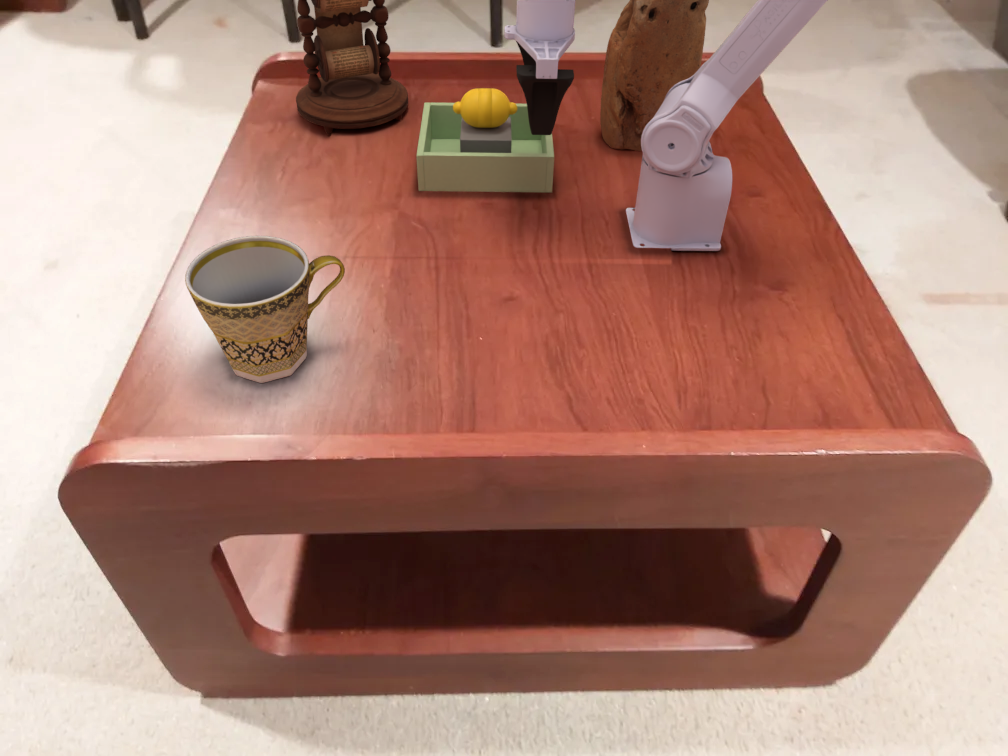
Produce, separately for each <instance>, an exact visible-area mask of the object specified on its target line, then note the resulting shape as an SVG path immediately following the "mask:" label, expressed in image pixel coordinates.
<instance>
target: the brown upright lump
mask: <svg viewBox="0 0 1008 756" xmlns="http://www.w3.org/2000/svg"><path fill="white" fill-rule="evenodd" d="M709 3H710V0H629V1H628V2H627V3H626V4H625V5H624V7H623V8H622V10H621V12H620V16H619V17H618V19H617V21H616V23H615V26H614V27H613V29H612V30H611V33H610V35H609V38H608V42H607V46H606V50H605V51H606V52H605V59H604V66H603V76H602V84H601V94H600V95H601V96H600V112H599V120H600V122H599V123H600V129H601V136H602V140H603V141H604V143H605V144H606V145H608V146H609V148H611V149H614V150H630V151H636V152H637V151H639V152H640V151H641V152H642V148H641V137H642V133H643V130H644V128H645V126H646V125H647V124H648V123H649V122H650V121H651V120H652V118H653V117H654V116H655V114H656V113H657V111H658V109H659V108H660V106H661V105H662V103H663V101H664V99H665V97H666V94H667V93H668V91H669V90H670V89H671V88H672V87H673V86H674V85H675V84H677V83H678V82H681V81H683V80H686V79H688V78H690V77H691V76H693V75H694V74H695V73H696V72H697V71H698V69H699V68H700V67H701V66H702V60H703V54H704V53H703V52H704V46H705V39H706V38H705V37H706V26H707V15H706V10H707V8H708V6H709Z"/></svg>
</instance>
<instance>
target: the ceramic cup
mask: <svg viewBox="0 0 1008 756" xmlns="http://www.w3.org/2000/svg"><path fill="white" fill-rule="evenodd" d="M330 265H337V266H338V267H339V272H338V274H337V276H336V277H335V278H334V279H333V280H332V281H331V282H330V283H329V284H327V286H326V287H325V288H323V289H322V291H321V292H320V293H319V294H318V296H317V297H316V298H315V300H314V301H312V302H310V303H309V292H310V287H311V284H312V283H313V280H314V276H315V275H316V274H317V272H319V271H320V270H322V269H324V268H325V267H327V266H330ZM345 273H346V268H345V265H344V263H343V262H342V261H341V260H340V258H338V257H337V256H335V255H329V254H328V255H321V256H318V257H316V258H313V260H311V261H309V258H308V255H307V253H306V252H305V251H304V250H303V248H302V247H300V246H299V245H298V244H296V243H294V242H293V241H290V240H288V239H285V238H282V237H277V236H271V235H247V236H241V237H235V238H230V239H227V240H224V241H221V242H219V243H216V244H214V245H212V246H210V247H208V248H206V249H205V250H203V251H202V252H201V253H199V254H198V255H196V257H195V258H194V259H192V260H191V262H190V263H189V265H188V267H187V269H186V271H185V275H184V282H185V286H186V289H187V290H188V292H189V295H190V296H191V299H192V301H193V303H194V305H195V306H196V308H197V310H198V311H199V313H200V315H201V317H202V319H203V320H204V322H205V324H206V325H207V326H208V328H209V329H210V331H211V332H212V333H213V335H214V337H215V340H216V341H217V343H218V345H219V347H220V349H221V350H222V352H223V354H224V356H225V357H226V359H227V361H228V363H229V366H230V367H231V369H232V370H233V372H234V374H235V375H236V376H237V377H240V378H243V379H247V380H250V381H253V382H256V383H260V384H264V383H268V382H271V381H275V380H279V379H282V378H287V377H290V376H292V375H293V374H294V373H295V372H296V370H297V369H298V368H299V367H300V366H301V364H302V363H303V362H305V360H306V358H307V356H308V321H309V320H310V317H311V315H312V313H313V311H314V310H315V309H316V308H317V307H318V306H319V305H320V304H321V303H322V302H323V300H324V299H325V297H326V296H327V295H328V294H329V293H330V292H332V290H333V289H335V288H336V287H337V286H338V285H339V284H340V282H341V281H342V280H343V278H344V276H345Z"/></svg>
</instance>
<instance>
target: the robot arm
mask: <svg viewBox="0 0 1008 756" xmlns="http://www.w3.org/2000/svg"><path fill="white" fill-rule="evenodd" d="M828 1H829V0H757V1H755V3H754V4H753V5H752V7H750V9H749V10H748V11H747V13H745V15H744V16H743V17H742V19H740V21H739V22H738V23H737V24H736V25H735V27H734V28H733V30H732V31H731V32H730V33H729V34H728V35H727V36H726V38H725V39H724V40H723V41H722V42H721V44H720V45H719V46H718V48H716V50H715V51H714V52H713V53H712V55H711V56H710V57H709V58H707V60H706V61H705V62H704V63H703V64H701V66H700V68H699V69H698V71H697V72H696V73H695V74H694V75H693V76H691V77H690V78H688V79H686V80H683V81H681V82H678V83H677V84H675V85H674V86H673V87H672V88H671V89H670V90H669V91H668V93H667V94H666V97H665V99H664V101H663V103H662V105H661V106H660V108H659V109H658V111H657V113H656V114H655V116H654V117H653V118H652V120H651V121H650V122H649V123H648V124H647V125H646V126H645V128H644V130H643V133H642V137H641V148H642V151H641V152H642V158H641V164H640V171H639V178H638V184H637V185H638V186H637V192H636V199H635V206H634V207H627V208H626V209H625V213H626V218H627V222H628V227H629V232H630V237H631V242H632V246H633V247H634V248H637V249H670V250H671V252H672V251H674V252H675V251H677V252H679V251H681V252H719V251H721V249H722V244H721V240H722V236H723V232H724V226H725V222H726V219H727V215H728V210H729V206H730V201H731V197H732V189H733V168H732V164H731V161H730V159H729V157H727V156H720V155H715V154H714V153H713V148H712V144H711V141H710V140H711V139H712V136H713V134H714V133H715V132H716V131H717V130H718V128H719V127H720V125H721V124H722V123H723V122H724V120H725V118H726V117H727V116H728V114H729V113H730V112H731V110H732V109H733V107H734V106H735V104H736V103H737V102H738V101H739V99H741V97H742V96H743V95H744V94H745V93H746V92H747V91H748V89H749V88H750V87H751V86H752V85H753V84H754V83H755V82H756V81H757V79H758V78H759V77H760V76H761V75H762V74H763V73H764V72H765V71H766V69H767V68H768V67H769V66H770V65H771V64H772V63H773V62H774V61H775V59H777V57H778V56H779V55H780V54H781V53H782V52H783V51H784V50H785V48H787V46H788V45H789V44H790V43H791V42H792V41H793V39H794V38H795V37H796V36H797V35H798V34H799V33H800V32H801V31H802V29H804V27H805V26H806V25H807V24H808V23H809V22H810V21H811V20H812V18H814V16H816V14H817V13H818V12H819V11H820V10H821V8H823V7H824V5H825V4H826V3H827V2H828ZM575 11H576V0H516V16H515V17H516V19H515V20H516V21H515V22H516V23H515V24H511V25H510V24H509V25H508V24H507V25H505V26H504V29H503V30H504V33H503V36H504V39H505V40H510V41H511V40H512V41H513V40H514V41H515V42H516V45H517V47H518V49H519V51H520V54H521V58H522V62H523V64H516V69H515V70H516V78H517V81H518V83H519V86H520V87H521V89H522V91H523V95H524V98H525V102H526V103H525V104H527V109H528V118H529V125H530V130H531V134H532V135H551V134H552V135H553V131H554V129H555V125H556V121H557V118H558V114H559V110H560V107H561V104H562V101H563V99H564V97H565V95H566V93H567V91H568V89H569V88H570V87H571V85H572V84H573V81H574V78H575V71H574V69H561V68H559V61H560V59H561V58H562V57H563V55H564V54H565V53H566V52H567V50H568V49H569V48H570V47H571V45H572V44H573V43H574V41H575V38H576V30H575V28H574V25H575V13H576V12H575Z"/></svg>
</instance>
